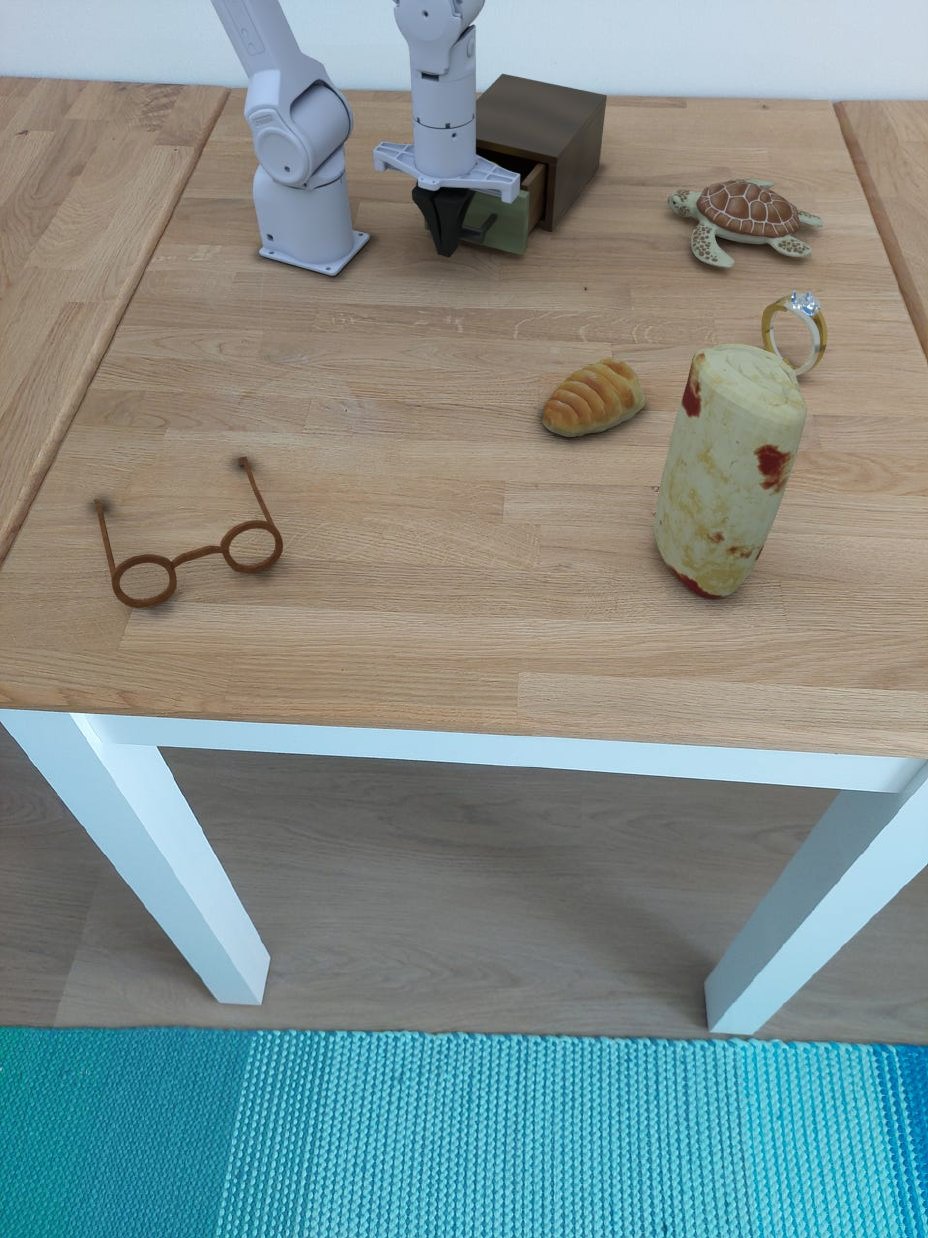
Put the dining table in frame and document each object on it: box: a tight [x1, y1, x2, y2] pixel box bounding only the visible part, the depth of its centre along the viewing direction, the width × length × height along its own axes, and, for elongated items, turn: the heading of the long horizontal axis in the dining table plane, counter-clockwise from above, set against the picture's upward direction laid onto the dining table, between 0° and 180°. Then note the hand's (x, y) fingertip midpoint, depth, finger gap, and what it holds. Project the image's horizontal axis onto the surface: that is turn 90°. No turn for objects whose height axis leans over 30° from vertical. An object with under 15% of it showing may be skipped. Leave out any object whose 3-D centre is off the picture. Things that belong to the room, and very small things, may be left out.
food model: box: [652, 343, 808, 600], centre depth 66 cm, size 10×7×20 cm
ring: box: [760, 289, 828, 376], centre depth 85 cm, size 7×3×8 cm, turn 25°
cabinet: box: [476, 73, 608, 232], centre depth 105 cm, size 15×13×8 cm
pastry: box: [542, 357, 646, 438], centre depth 84 cm, size 9×7×4 cm
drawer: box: [423, 147, 549, 256], centre depth 100 cm, size 18×12×6 cm, turn 155°
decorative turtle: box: [667, 178, 825, 269], centre depth 100 cm, size 18×17×5 cm
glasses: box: [93, 456, 284, 609], centre depth 75 cm, size 13×13×5 cm
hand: (447, 251), depth 95 cm, fingers closed, pressing on drawer
